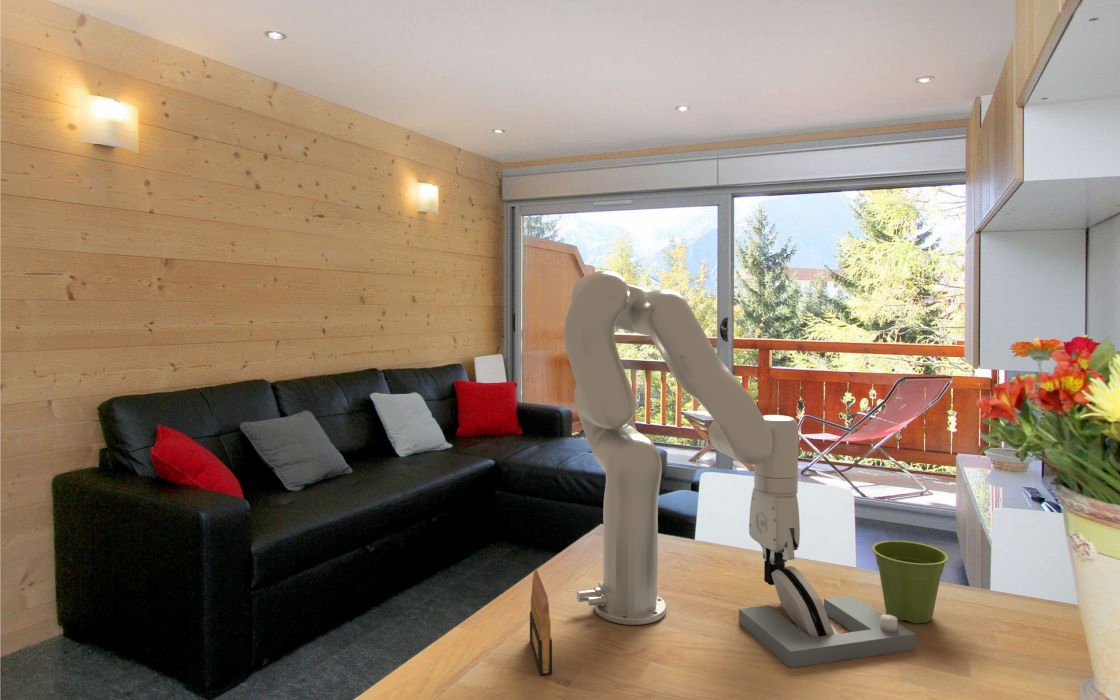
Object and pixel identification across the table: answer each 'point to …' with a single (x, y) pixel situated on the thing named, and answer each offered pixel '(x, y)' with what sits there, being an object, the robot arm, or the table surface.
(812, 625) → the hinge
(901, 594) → the plant pot
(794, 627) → the gray u-shaped block
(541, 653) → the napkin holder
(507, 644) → the table surface
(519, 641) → the table surface
